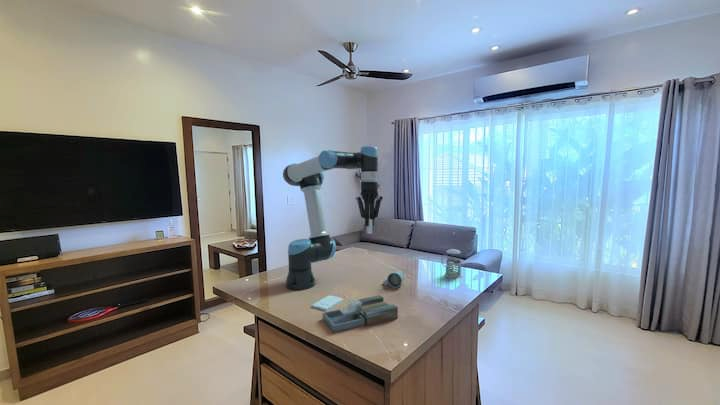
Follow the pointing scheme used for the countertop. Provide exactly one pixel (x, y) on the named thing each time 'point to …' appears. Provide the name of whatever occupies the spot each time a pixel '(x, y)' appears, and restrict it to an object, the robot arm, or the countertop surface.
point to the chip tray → (336, 324)
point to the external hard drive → (327, 303)
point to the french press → (456, 262)
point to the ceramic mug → (394, 279)
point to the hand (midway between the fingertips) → (369, 233)
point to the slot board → (378, 318)
